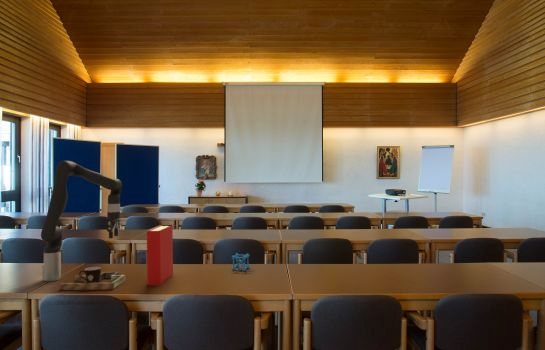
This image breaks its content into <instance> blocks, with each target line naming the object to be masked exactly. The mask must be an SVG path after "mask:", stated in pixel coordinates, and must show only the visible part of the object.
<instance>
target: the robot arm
mask: <svg viewBox="0 0 545 350" xmlns="http://www.w3.org/2000/svg"><path fill="white" fill-rule="evenodd" d="M69 176H74V177H79V178H81V179H84V180H86V181H87V182H89V183H92V184H94V185H96V186H97V185H98V186H100V187H102V188H104V189H106V190H109V191H110V192H109V194H108V195H107V207H106V208H107V210H106V212H107V213H106V219H108V220H109V221H107V226H106V227H107V229H106V232H108V239H114V237H119V230H120V228H121V225H120V224H121V223H120V222H121V221H120V219H121V194H122V190H123V189H122V188H123V183H122V181H121V180H120V179H118V178H111V177H107V176H106V175H105V174H103V173H99V172H96V171H93V170H90V169H88V168H85V167H84V166H81V165H79V164H78V163H76V162H74V161H72V160H62V161H61V160H60V161H59V162H58V163H57V165H56V169H55V176H54V183H53V188H52V193H51V196H50V200H49V205H48V209H47V213H46V217H45V220H44V223H43V226H42V228H41V232H40V237H41V240H42V241H43V242H44V243H46V245H45V246H44V248H43V264H42V269H41V270H42V273H41V274H42V281H44V282H55V281H58V280H61V277H62V274H61V273H62V271H61V267H62V265H61V264H62V263H61V262H62V260H61V257H62V255H61V250H62V244H63V243H62V242H63V231H62V229H61V227H60V226H58V221H59V219H60V217H61V215H62V214H63V213H64V211H65V209H66V206H67V202H68V198H69V195H68V190H67V182H68V178H69Z"/></svg>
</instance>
